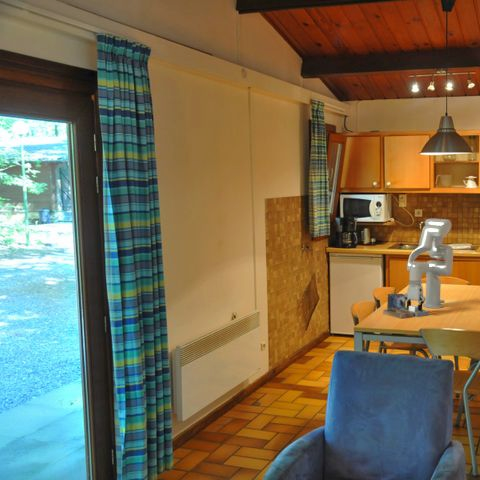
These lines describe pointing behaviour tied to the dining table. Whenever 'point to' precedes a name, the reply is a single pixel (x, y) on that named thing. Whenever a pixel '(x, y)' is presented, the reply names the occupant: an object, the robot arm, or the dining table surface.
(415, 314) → the charcoal tray
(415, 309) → the letter cube
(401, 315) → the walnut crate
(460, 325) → the dining table surface
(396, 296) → the small box
